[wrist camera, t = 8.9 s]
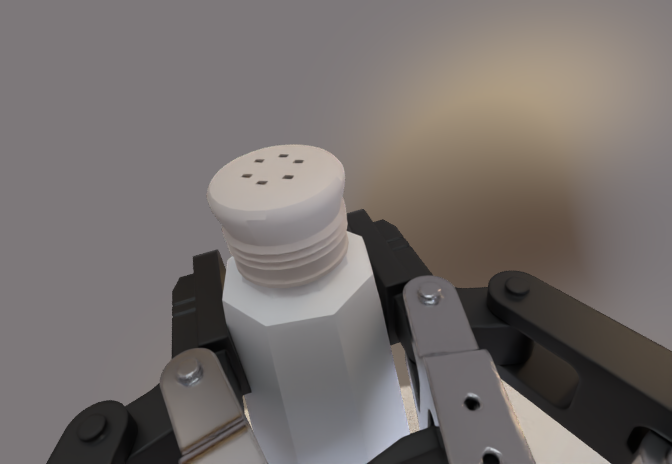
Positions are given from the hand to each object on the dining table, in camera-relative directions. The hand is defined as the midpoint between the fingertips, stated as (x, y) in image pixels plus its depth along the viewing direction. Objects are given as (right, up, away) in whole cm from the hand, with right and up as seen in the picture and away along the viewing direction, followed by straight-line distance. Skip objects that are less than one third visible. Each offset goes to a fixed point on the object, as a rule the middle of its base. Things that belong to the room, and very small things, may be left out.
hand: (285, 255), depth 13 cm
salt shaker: (+2, -7, +2) cm, 7 cm away
